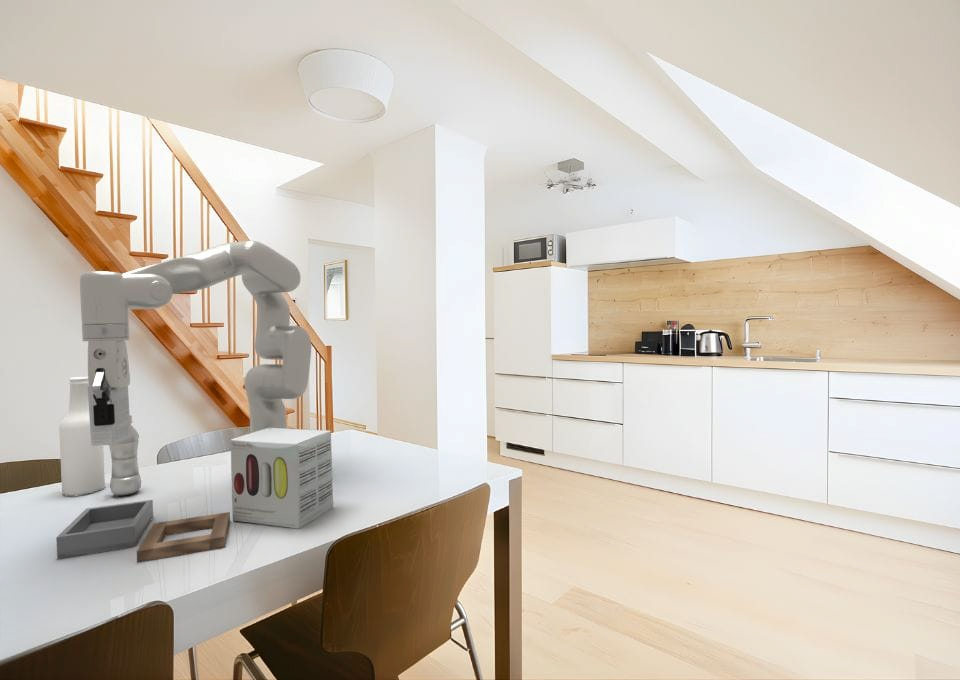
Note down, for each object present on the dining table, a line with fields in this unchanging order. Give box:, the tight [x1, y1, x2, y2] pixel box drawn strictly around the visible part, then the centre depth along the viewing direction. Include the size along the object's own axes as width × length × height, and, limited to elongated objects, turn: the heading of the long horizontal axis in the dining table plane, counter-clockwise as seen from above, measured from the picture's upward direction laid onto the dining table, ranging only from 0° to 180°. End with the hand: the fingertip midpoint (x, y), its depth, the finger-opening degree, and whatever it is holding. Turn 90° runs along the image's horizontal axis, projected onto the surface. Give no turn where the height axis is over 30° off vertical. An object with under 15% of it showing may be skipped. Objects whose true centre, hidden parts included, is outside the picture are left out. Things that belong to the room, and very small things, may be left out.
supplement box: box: [230, 428, 334, 530], centre depth 110 cm, size 17×13×18 cm
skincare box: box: [88, 385, 131, 446], centre depth 99 cm, size 6×4×12 cm
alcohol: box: [58, 376, 106, 497], centre depth 129 cm, size 9×9×30 cm
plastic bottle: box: [108, 415, 142, 496], centre depth 126 cm, size 6×7×20 cm
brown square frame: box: [136, 511, 231, 563], centre depth 98 cm, size 14×14×2 cm
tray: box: [56, 499, 154, 560], centre depth 100 cm, size 12×16×4 cm
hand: (110, 421), depth 100 cm, fingers closed on skincare box, 6 cm apart
